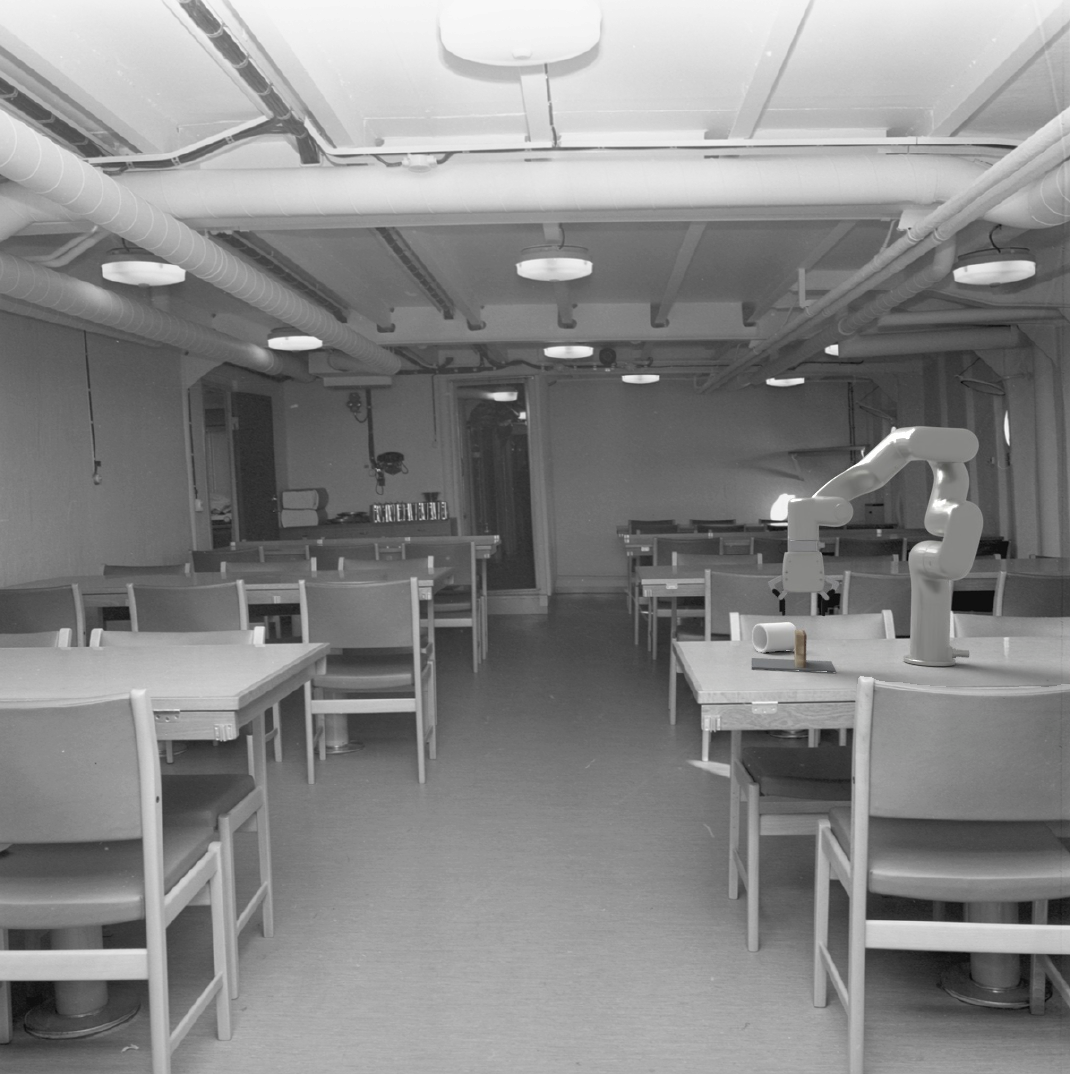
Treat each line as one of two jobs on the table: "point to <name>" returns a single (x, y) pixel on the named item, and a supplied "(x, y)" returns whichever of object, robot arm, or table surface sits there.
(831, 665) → the mat
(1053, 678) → the table surface
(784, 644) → the mug
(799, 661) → the tile
